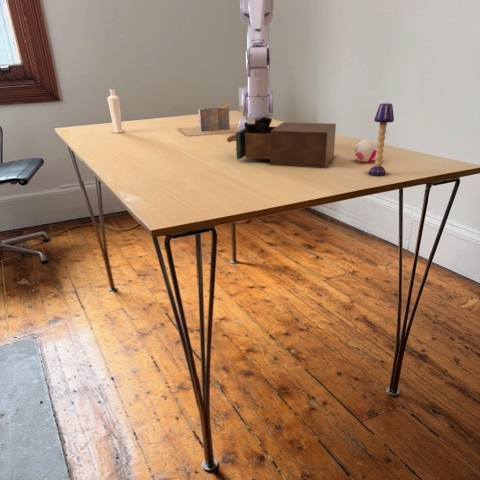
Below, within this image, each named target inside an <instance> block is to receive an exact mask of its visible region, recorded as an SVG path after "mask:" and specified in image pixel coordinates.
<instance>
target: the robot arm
mask: <svg viewBox="0 0 480 480" xmlns="http://www.w3.org/2000/svg"><path fill="white" fill-rule="evenodd" d="M274 1H275V0H239V11H240V20H241V23H242V24H243V25H245V26H246V27H247V32H246V36H247V37H246V38H247V39H246V40H247V41H246V42H247V44H246V45H247V49H246V50H245V67H246V74H247V75H246V77H247V85H246V86H245V87H244V88H243V89H242V91H241V116H242V117H243V118H241V117H240V119H239V120H238V124H237V125H238V131H240V130H242V129H244V128H246V130H247V132H248V133H262V132H263V133H267V132H268V128H269V127H270V125H271V123H272V121H273V120H272V117H273V115H274V94H273V93H274V92H273V89H272V88H271V87H270V86H269V76H270V75H269V71H270V69H271V48H270V44H269V31H268V28H267V26H268V25H269V24H271V23H272V19H273V16H274V13H273V11H274V5H275V3H274Z"/></svg>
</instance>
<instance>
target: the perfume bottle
mask: <svg viewBox="0 0 480 480" xmlns="http://www.w3.org/2000/svg"><path fill="white" fill-rule="evenodd" d="M109 93H110V95H109V96H108V97H107V98H106V100H107V104H108V109H109V114H110V119H111V122H112V128H113V131H112V133H114V134H115V133H116V134H119V133H124V130H123V127H122V113H121V112H122V111H121V100H120V96H118V95H116V89H115V88H113V89H109Z"/></svg>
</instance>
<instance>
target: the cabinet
mask: <svg viewBox="0 0 480 480" xmlns="http://www.w3.org/2000/svg"><path fill="white" fill-rule="evenodd" d="M336 126H337V124H336V123H326V122H325V123H322V122H292V121H291V122H289V121H285V122H281V123H280V124H278V125H277V126H274V127H275V128H274V129H272V130H271V131H270V133H271V134H270V159H269V165H270V166H289V167H303V168H304V167H305V168H307V167H308V168H326V167H327V166H328V164H329V163H330V162H331V160H332V159H333V158H334V156H335V141H336V128H337V127H336Z"/></svg>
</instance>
